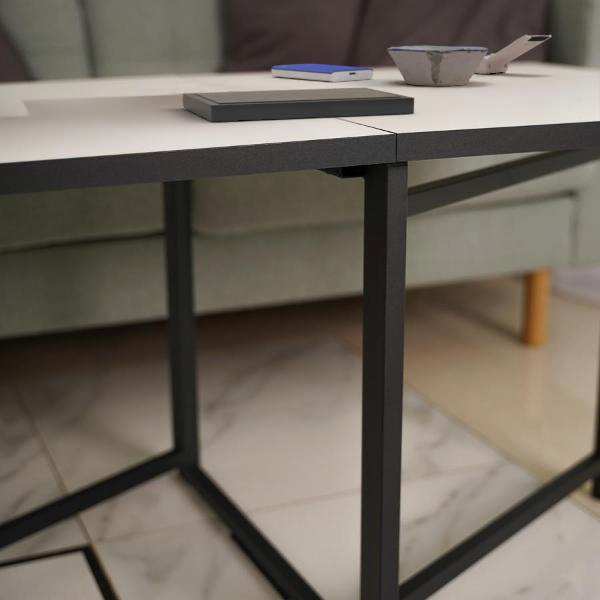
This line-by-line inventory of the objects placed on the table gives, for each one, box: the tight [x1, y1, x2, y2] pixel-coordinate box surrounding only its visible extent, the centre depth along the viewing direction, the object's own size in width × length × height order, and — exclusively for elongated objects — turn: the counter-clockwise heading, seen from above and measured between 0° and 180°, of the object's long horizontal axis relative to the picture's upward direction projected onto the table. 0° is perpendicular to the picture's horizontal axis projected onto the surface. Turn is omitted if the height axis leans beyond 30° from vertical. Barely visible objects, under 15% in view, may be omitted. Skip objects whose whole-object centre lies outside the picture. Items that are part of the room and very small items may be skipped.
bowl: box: [386, 44, 490, 87], centre depth 120 cm, size 13×13×5 cm
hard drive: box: [271, 63, 374, 83], centre depth 129 cm, size 2×8×12 cm
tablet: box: [182, 87, 415, 123], centre depth 90 cm, size 20×12×2 cm, turn 109°
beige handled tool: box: [474, 34, 552, 75], centre depth 139 cm, size 6×6×25 cm
